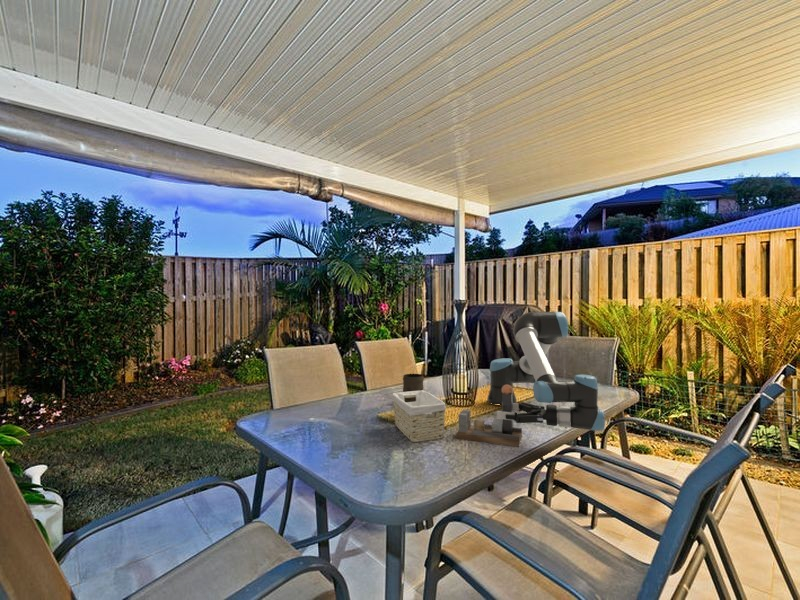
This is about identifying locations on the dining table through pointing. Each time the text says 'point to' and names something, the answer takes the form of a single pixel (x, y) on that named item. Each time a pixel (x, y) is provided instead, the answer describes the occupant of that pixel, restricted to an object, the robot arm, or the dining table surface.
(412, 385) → the beer stein
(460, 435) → the base
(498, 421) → the handle
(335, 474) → the dining table surface
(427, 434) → the storage basket
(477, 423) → the tan rounded cylinder
